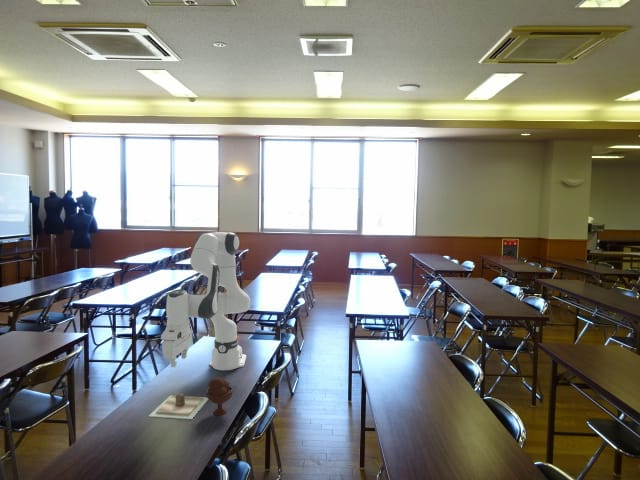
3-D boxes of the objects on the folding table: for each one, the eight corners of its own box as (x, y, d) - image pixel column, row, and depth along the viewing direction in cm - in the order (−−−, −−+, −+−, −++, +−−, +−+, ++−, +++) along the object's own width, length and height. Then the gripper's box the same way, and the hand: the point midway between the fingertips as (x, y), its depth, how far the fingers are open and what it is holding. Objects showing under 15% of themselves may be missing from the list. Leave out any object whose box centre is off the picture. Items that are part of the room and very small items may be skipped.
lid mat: (170, 396, 185) (170, 395, 185) (209, 398, 183) (209, 397, 183) (149, 416, 168) (148, 415, 168) (191, 419, 165) (191, 418, 165)
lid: (172, 397, 183) (171, 387, 183) (202, 399, 182) (202, 388, 181) (156, 413, 169) (155, 402, 169) (189, 415, 168) (188, 404, 167)
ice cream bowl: (227, 420, 165) (226, 383, 164) (201, 417, 167) (200, 381, 166) (237, 407, 175) (237, 373, 174) (213, 404, 178) (212, 370, 176)
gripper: (182, 322, 183) (182, 353, 184) (158, 336, 163) (159, 371, 164) (195, 323, 182) (196, 353, 184) (174, 337, 162) (175, 372, 163)
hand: (179, 362), depth 174 cm, fingers open, 8 cm apart
